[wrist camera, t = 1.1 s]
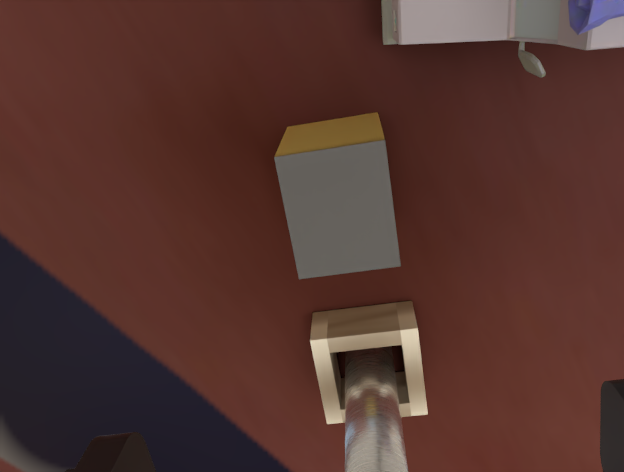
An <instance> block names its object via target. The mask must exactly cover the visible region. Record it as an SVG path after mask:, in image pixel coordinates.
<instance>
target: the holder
mask: <svg viewBox="0 0 624 472" xmlns="http://www.w3.org/2000/svg"><path fill="white" fill-rule="evenodd" d="M310 344H311V348H312V353H313V358H314V363H315V368H316V373H317V377H318V382H319V387H320V392H321V397H322V402H323V407H324V411H325V416H326V421H327V424H334V423H344V422H345V378H341V376H340V371H339V365H338V360H337V354H336V352H343V351H352V350H360V349H369V348H378V347H387V346H396V345H401V347H402V354H403V362H404V370H405V371H402V372H395V376H396V384H397V391H398V399H399V407H400V414H401V417H406V416H416V415H427V414H428V412H427V403H426V394H425V386H424V377H423V369H422V360H421V351H420V343H419V334H418V327H417V322H416V318H415V313H414V308H413V304H412V301H405V302H396V303H388V304H380V305H372V306H363V307H355V308H347V309H339V310H330V311H322V312H314V313H313V315H312V325H311V335H310Z"/></svg>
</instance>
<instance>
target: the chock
mask: <svg viewBox="0 0 624 472" xmlns="http://www.w3.org/2000/svg"><path fill="white" fill-rule="evenodd" d="M274 160H275V164H276V169H277V174H278V179H279V184H280V189H281V194H282V198H283V203H284V208H285V213H286V218H287V223H288V228H289V233H290V237H291V242H292V247H293V252H294V257H295V262H296V267H297V272H298V276H299V279H305V278H313V277H321V276H329V275H336V274H344V273H352V272H360V271H367V270H375V269H383V268H391V267H398V266H401V264H400V256H399V248H398V240H397V231H396V223H395V215H394V207H393V199H392V191H391V183H390V175H389V167H388V159H387V151H386V143H385V138H384V134H383V130H382V126H381V123H380V119H379V115H378V112H376V113H370V114H363V115H357V116H351V117H345V118H339V119H333V120H326V121H320V122H314V123H308V124H302V125H296V126H289V127H287V129H286V131H285V133H284V136H283V138H282V140H281V143H280V145H279V147H278V149H277V152H276V154H275V156H274Z"/></svg>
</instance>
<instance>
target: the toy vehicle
mask: <svg viewBox="0 0 624 472" xmlns="http://www.w3.org/2000/svg"><path fill="white" fill-rule="evenodd" d="M381 8H382V35H383V44H384V45H389V44H400V45H404V44H427V43H450V42H472V41H495V40H513V41H520V44H519V52H518V57H519V59H520V61H521V63H522V65H523V67H524V68H525V70H526V71H528V72H530V73H532V74H534V75H536V76H538V77H544V76H545V74H546V73H545V71H544V69H543V66H542V64H541V62H540V60H539V59H538V58H536V57H535V56H534V55H533V54H531V53H529V52H526V51H524V47H525V42H536V43H548V44H558V45H563V46H568V47H573V48H577V49H582V50H596V49H608V48H620V47H624V0H381Z"/></svg>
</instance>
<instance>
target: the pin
mask: <svg viewBox="0 0 624 472" xmlns="http://www.w3.org/2000/svg"><path fill="white" fill-rule="evenodd" d="M345 472H408V468H407V460H406V452H405V445H404V437H403V429H402V422H401V414H400V407H399V399H398V391H397V384H396V376H395V368H394V361H393V353H392V346H387V347H378V348H369V349H360V350H352V351H345Z"/></svg>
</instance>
